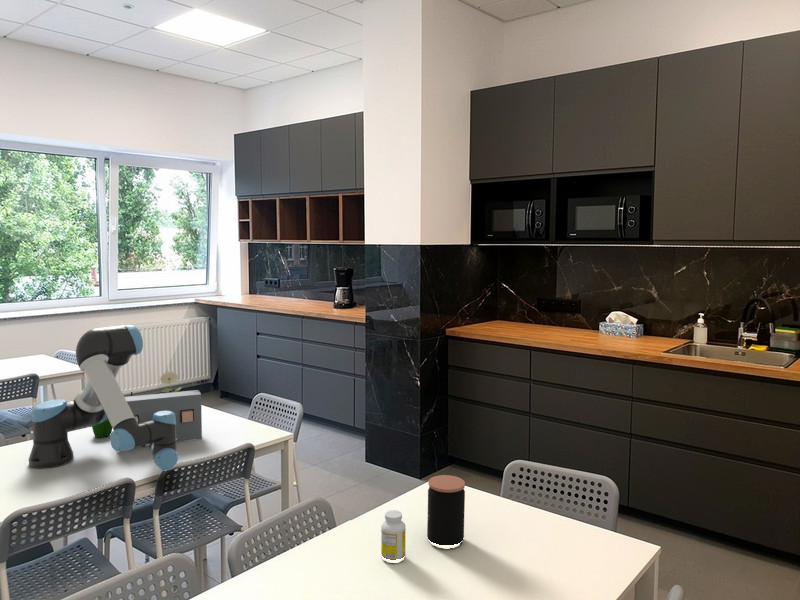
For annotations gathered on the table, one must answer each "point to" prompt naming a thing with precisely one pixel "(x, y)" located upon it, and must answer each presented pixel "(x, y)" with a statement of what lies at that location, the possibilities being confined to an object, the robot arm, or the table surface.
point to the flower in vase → (169, 380)
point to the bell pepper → (102, 429)
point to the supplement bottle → (393, 536)
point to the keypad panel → (174, 403)
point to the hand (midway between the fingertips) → (155, 429)
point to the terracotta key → (186, 415)
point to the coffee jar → (446, 510)
